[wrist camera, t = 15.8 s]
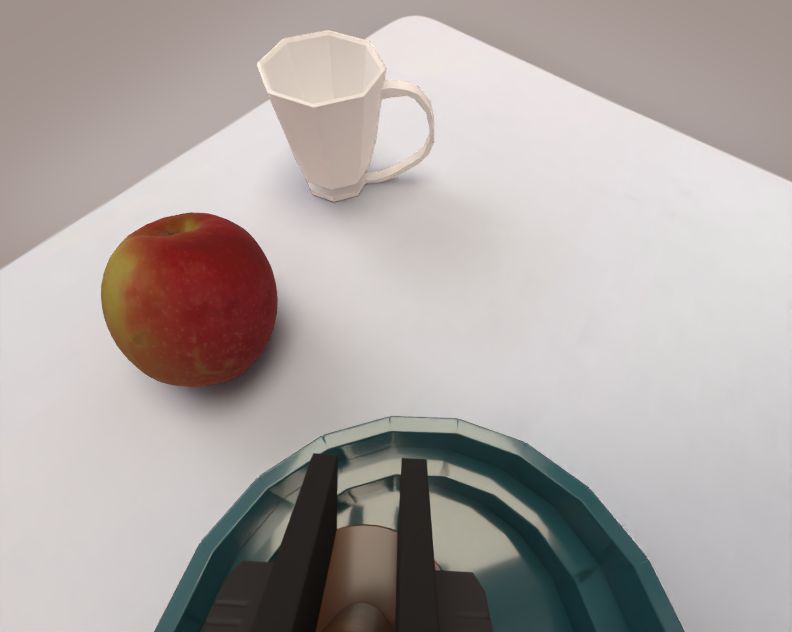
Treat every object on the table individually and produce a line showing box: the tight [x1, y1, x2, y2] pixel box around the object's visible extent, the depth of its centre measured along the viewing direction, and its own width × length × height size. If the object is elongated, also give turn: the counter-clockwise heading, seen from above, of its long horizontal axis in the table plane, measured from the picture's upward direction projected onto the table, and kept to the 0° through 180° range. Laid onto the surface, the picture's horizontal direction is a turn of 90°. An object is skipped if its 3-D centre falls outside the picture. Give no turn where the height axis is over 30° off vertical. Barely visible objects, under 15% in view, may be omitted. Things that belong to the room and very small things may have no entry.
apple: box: [101, 213, 277, 387], centre depth 21 cm, size 8×8×8 cm
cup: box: [257, 30, 434, 202], centre depth 27 cm, size 7×10×8 cm
